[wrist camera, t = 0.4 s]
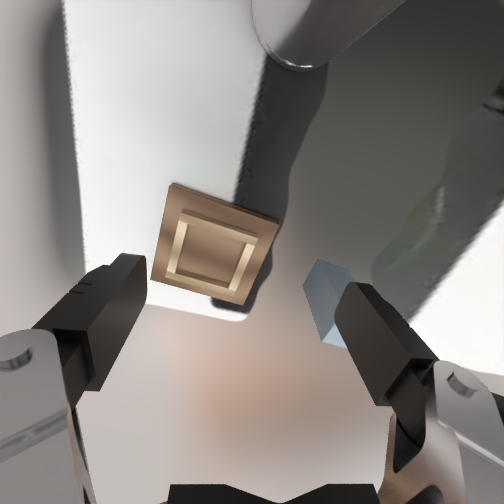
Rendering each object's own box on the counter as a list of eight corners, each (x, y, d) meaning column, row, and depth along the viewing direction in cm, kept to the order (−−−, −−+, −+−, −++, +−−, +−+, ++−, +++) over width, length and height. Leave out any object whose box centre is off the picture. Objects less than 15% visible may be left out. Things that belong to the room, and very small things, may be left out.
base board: (173, 183, 26) (165, 188, 24) (278, 220, 29) (281, 229, 26) (154, 273, 32) (146, 284, 30) (243, 298, 34) (242, 311, 32)
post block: (317, 259, 31) (344, 310, 23) (347, 269, 32) (384, 322, 23) (302, 285, 33) (321, 341, 25) (330, 293, 34) (359, 351, 25)
